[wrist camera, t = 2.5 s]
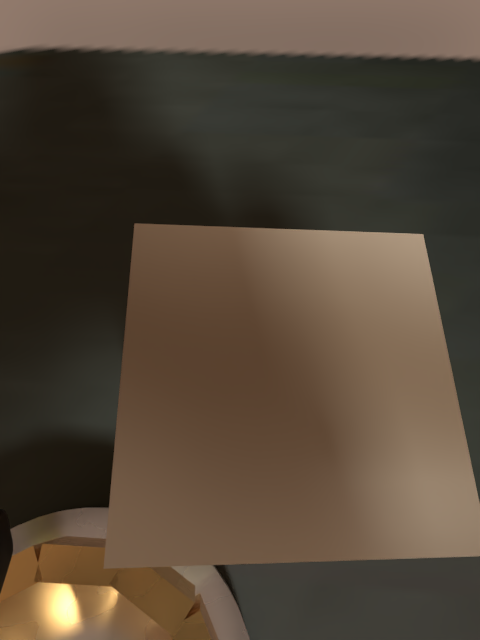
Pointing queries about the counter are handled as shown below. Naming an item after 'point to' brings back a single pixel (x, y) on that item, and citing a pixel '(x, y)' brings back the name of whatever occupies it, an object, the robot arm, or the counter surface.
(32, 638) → the segmented gold bowl
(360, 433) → the post
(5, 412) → the counter surface
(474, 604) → the counter surface
